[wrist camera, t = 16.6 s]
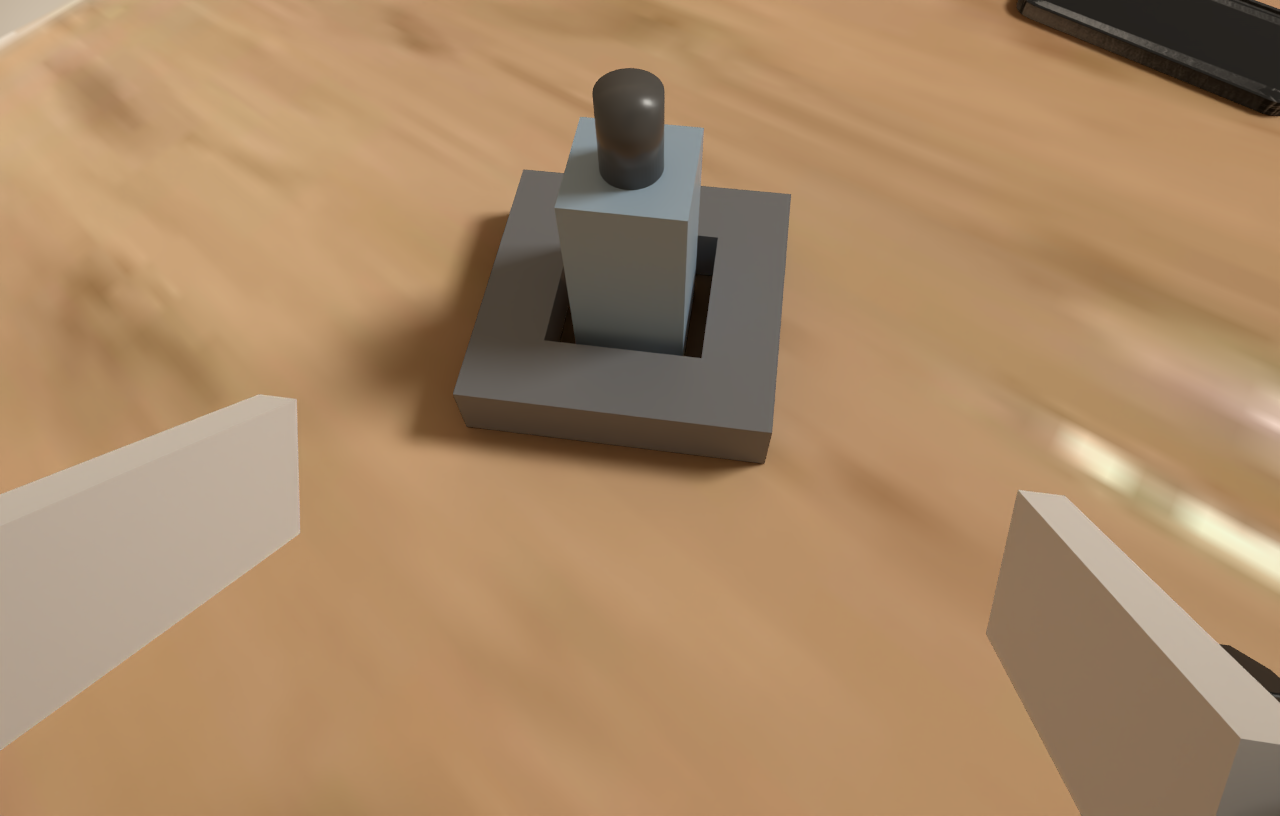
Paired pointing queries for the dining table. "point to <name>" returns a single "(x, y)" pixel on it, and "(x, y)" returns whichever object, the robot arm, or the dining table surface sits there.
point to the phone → (1182, 40)
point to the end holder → (625, 379)
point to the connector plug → (631, 219)
